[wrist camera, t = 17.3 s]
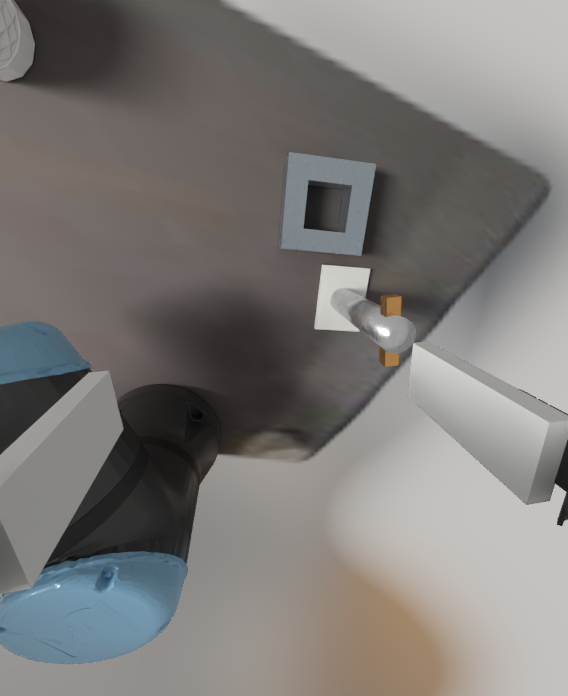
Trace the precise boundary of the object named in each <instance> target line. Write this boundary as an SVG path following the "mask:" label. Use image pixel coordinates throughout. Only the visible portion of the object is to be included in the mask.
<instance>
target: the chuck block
mask: <svg viewBox="0 0 568 696" xmlns="http://www.w3.org/2000/svg"><path fill="white" fill-rule="evenodd" d="M375 169H376V164H373V163H365V162H358V161H351V160H343V159H336V158H329V157H322V156H314V155H307V154H300V153H293V152H289V153H288V155H287V157H286V158H285V164H284V176H283V189H282V201H281V214H280V226H279V239H278V248H281V249H292V250H303V251H315V252H326V253H337V254H348V255H359V256H361V254H362V248H363V242H364V236H365V230H366V224H367V217H368V211H369V205H370V199H371V193H372V187H373V181H374V175H375ZM308 185H309V186H317V187H326V188H334V189H342V190H343V192H342V199H341V206H340V214H339V221H338V228H337V232H332V231H323V230H313V229H304V219H305V209H306V200H307V190H308Z"/></svg>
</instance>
